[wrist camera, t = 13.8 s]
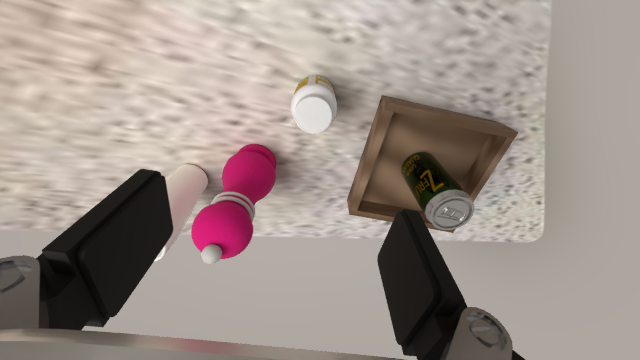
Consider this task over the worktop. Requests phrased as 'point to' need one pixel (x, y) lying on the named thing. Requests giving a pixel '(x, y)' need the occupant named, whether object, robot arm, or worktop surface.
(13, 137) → the worktop surface
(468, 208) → the beer can
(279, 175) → the worktop surface
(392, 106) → the box
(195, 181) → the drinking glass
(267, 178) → the pepper mill
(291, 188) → the worktop surface
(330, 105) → the supplement bottle
